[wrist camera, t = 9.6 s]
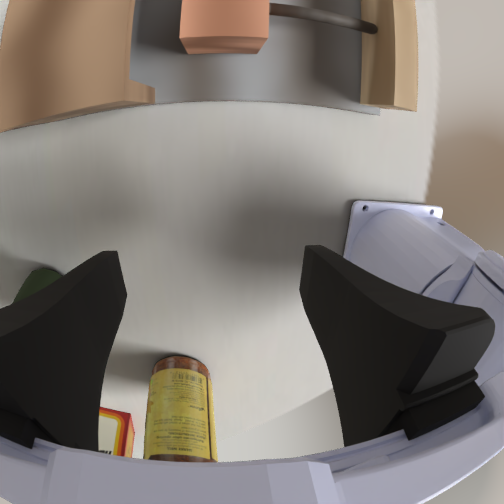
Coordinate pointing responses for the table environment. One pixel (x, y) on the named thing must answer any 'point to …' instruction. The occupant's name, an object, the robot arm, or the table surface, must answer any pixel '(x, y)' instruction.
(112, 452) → the baking soda box
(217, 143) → the table surface
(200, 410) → the sauce bottle
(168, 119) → the table surface
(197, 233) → the table surface
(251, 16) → the pull block
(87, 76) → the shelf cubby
